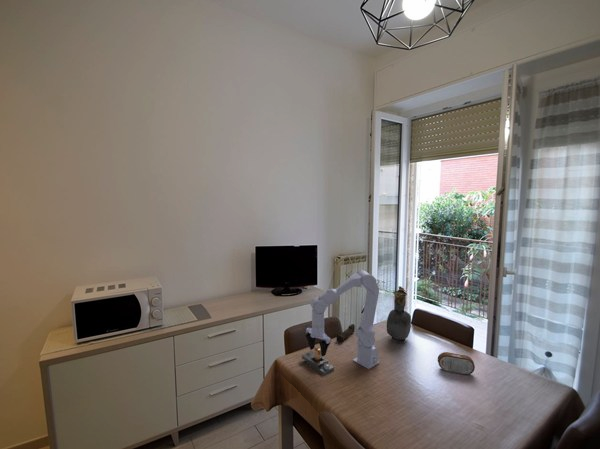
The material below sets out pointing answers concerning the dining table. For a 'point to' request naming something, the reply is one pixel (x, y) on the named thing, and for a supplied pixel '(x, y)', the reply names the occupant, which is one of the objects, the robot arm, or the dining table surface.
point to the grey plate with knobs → (321, 366)
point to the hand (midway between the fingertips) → (317, 352)
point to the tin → (456, 363)
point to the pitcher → (399, 318)
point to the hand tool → (346, 333)
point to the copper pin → (317, 355)
